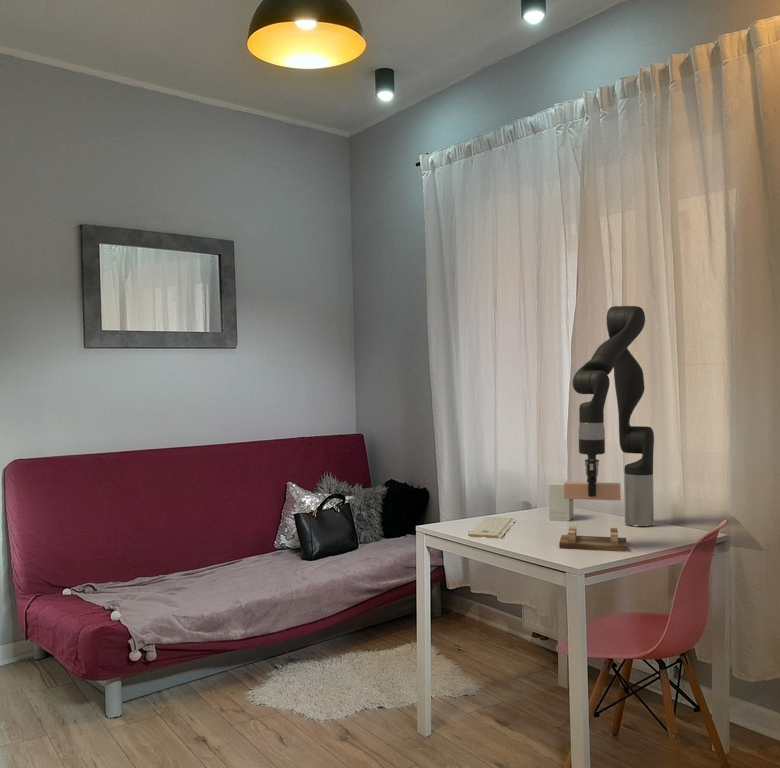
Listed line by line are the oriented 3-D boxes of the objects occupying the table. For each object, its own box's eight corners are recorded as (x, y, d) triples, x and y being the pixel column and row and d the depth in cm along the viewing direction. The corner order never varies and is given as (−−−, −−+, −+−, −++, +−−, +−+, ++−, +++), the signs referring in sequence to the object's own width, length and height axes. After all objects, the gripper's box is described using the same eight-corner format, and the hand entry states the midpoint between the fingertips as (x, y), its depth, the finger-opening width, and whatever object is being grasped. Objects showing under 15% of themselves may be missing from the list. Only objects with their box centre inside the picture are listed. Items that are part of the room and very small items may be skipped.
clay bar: (620, 498, 222) (620, 483, 222) (620, 500, 219) (620, 485, 219) (565, 496, 227) (564, 481, 227) (564, 498, 223) (564, 483, 223)
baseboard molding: (520, 522, 263) (486, 521, 267) (520, 514, 263) (486, 512, 267) (505, 540, 233) (468, 538, 237) (505, 531, 233) (467, 529, 237)
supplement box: (569, 521, 260) (569, 485, 260) (548, 520, 263) (548, 484, 263) (574, 518, 267) (573, 482, 267) (553, 516, 270) (553, 481, 270)
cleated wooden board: (561, 539, 231) (561, 525, 231) (626, 542, 226) (625, 527, 226) (559, 548, 219) (559, 532, 219) (627, 551, 214) (627, 535, 214)
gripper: (604, 439, 215) (605, 499, 215) (604, 436, 228) (605, 492, 228) (577, 439, 217) (578, 498, 217) (579, 435, 230) (580, 491, 231)
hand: (592, 495), depth 223 cm, fingers closed on clay bar, 4 cm apart
